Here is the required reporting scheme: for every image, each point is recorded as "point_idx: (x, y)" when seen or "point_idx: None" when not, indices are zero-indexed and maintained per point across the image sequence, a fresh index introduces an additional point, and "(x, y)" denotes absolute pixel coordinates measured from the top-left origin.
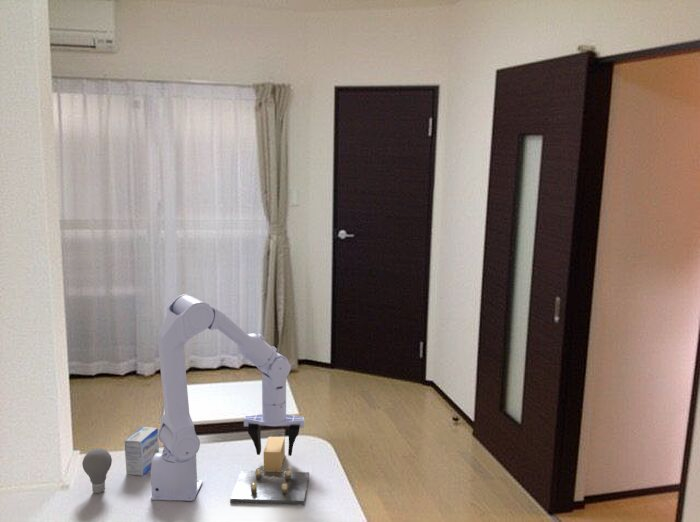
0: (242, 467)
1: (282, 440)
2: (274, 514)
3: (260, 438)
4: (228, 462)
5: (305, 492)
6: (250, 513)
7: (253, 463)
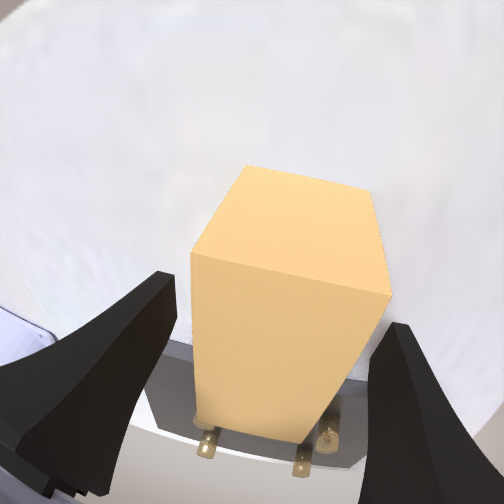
0: (123, 282)
1: (348, 352)
2: (274, 460)
3: (122, 336)
4: (54, 229)
5: (365, 455)
6: (219, 448)
7: (163, 259)
